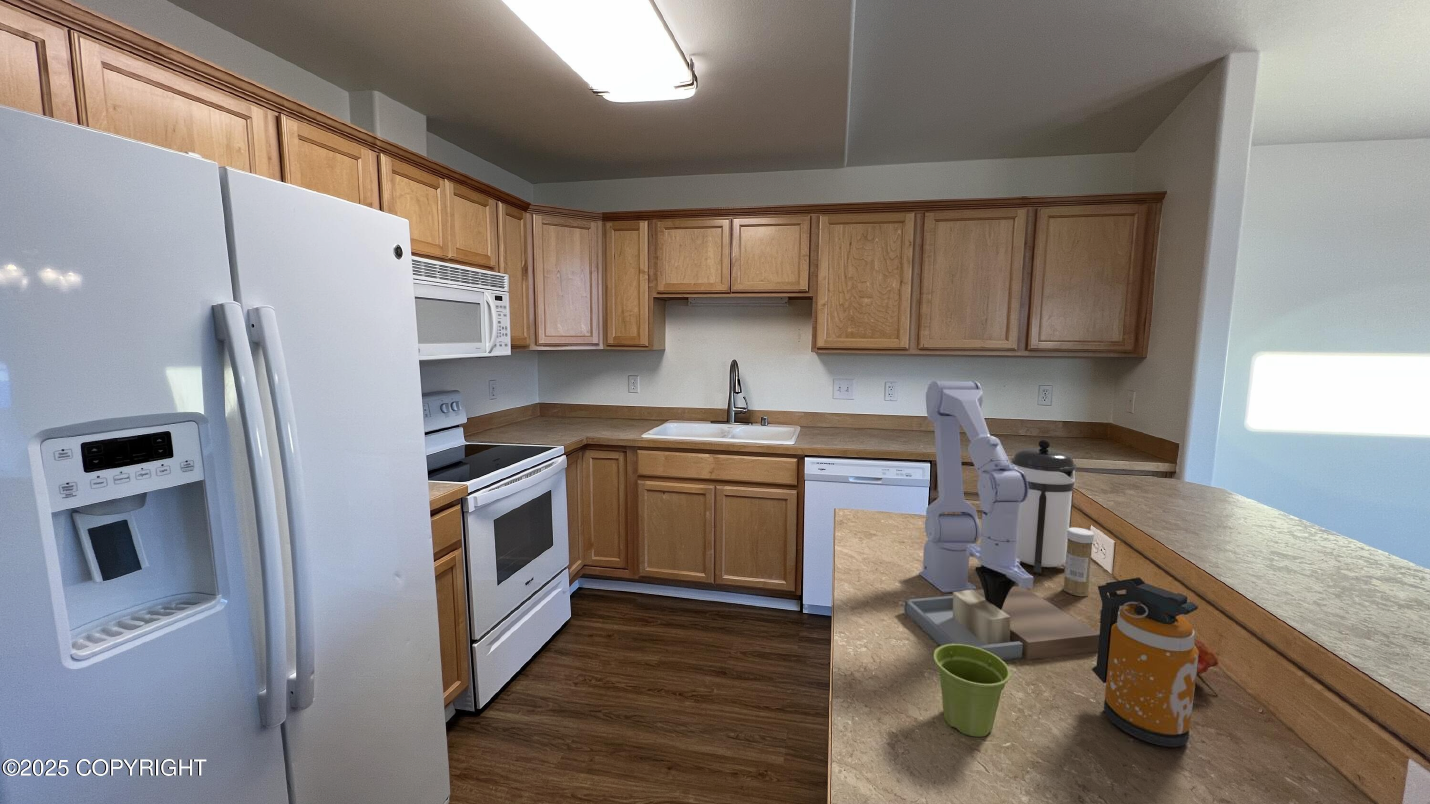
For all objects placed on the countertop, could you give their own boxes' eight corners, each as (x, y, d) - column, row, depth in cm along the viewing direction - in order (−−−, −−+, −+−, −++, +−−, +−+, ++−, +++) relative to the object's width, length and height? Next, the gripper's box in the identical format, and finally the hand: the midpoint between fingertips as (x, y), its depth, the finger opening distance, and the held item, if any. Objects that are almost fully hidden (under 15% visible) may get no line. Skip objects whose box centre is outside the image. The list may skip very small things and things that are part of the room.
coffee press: (1071, 558, 127) (1081, 437, 123) (1074, 583, 113) (1086, 448, 110) (991, 543, 136) (998, 430, 133) (985, 565, 123) (993, 440, 119)
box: (904, 612, 101) (905, 599, 101) (957, 607, 103) (958, 595, 103) (960, 665, 85) (960, 650, 84) (1021, 657, 87) (1022, 643, 86)
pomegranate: (1215, 695, 81) (1159, 632, 87) (1254, 679, 76) (1191, 614, 82) (1182, 710, 79) (1127, 645, 85) (1220, 695, 74) (1158, 626, 80)
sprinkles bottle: (1092, 593, 109) (1098, 531, 107) (1082, 599, 106) (1088, 536, 105) (1068, 585, 113) (1073, 525, 111) (1058, 590, 110) (1063, 529, 109)
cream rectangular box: (971, 614, 99) (952, 617, 99) (971, 589, 99) (952, 592, 98) (1009, 643, 90) (989, 647, 89) (1010, 616, 89) (989, 620, 88)
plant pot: (922, 695, 77) (925, 640, 76) (988, 700, 76) (992, 645, 75) (943, 744, 68) (946, 682, 67) (1019, 750, 67) (1023, 687, 66)
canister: (1168, 761, 65) (1185, 610, 63) (1074, 706, 75) (1085, 574, 73) (1201, 736, 69) (1218, 593, 67) (1107, 687, 79) (1119, 561, 77)
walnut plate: (958, 605, 104) (959, 591, 103) (1020, 599, 106) (1021, 585, 106) (1027, 659, 86) (1028, 642, 86) (1099, 650, 89) (1101, 634, 88)
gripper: (1051, 550, 87) (1045, 627, 88) (990, 521, 101) (986, 588, 102) (1013, 553, 85) (1008, 631, 87) (957, 523, 100) (954, 591, 101)
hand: (994, 608), depth 95 cm, fingers closed, pressing on cream rectangular box
